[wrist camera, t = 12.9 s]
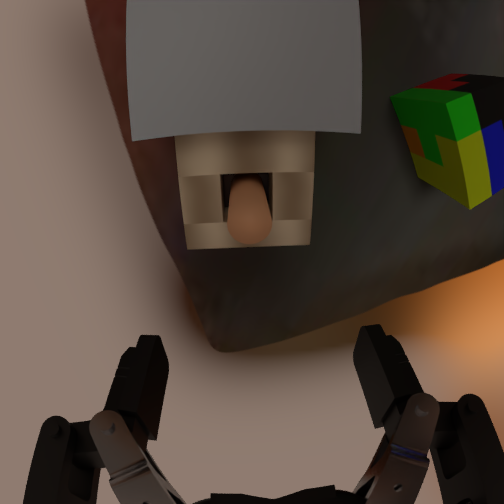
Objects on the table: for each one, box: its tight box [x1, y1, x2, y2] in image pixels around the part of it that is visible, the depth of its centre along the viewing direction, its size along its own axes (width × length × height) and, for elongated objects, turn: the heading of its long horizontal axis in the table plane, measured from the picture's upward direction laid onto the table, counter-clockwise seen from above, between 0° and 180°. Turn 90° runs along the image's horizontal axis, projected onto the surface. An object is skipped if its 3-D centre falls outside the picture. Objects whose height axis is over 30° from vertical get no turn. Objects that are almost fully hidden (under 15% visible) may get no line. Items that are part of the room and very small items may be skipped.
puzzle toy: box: [390, 74, 504, 209], centre depth 22 cm, size 10×10×10 cm
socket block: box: [175, 130, 315, 250], centre depth 26 cm, size 12×18×4 cm, turn 1°
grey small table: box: [126, 0, 362, 141], centre depth 17 cm, size 13×16×13 cm
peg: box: [227, 173, 272, 244], centre depth 25 cm, size 3×3×10 cm
